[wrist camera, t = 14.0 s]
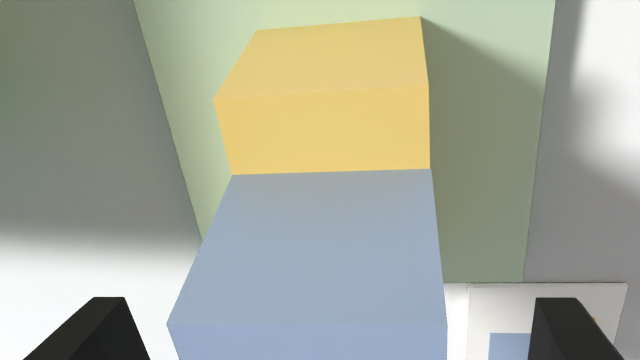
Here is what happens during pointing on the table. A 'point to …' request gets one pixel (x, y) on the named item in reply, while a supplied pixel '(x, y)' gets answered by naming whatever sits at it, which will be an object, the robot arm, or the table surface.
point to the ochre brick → (328, 99)
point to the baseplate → (444, 106)
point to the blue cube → (317, 271)
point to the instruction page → (530, 314)
